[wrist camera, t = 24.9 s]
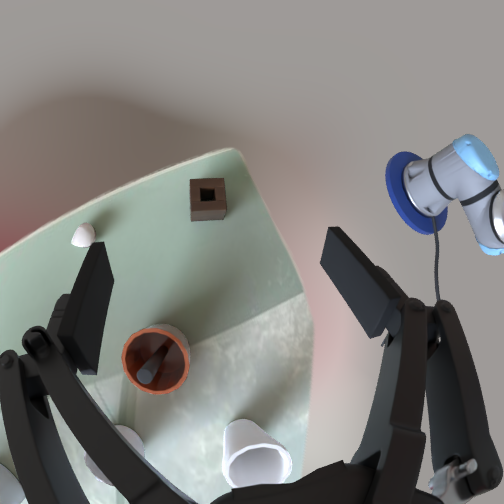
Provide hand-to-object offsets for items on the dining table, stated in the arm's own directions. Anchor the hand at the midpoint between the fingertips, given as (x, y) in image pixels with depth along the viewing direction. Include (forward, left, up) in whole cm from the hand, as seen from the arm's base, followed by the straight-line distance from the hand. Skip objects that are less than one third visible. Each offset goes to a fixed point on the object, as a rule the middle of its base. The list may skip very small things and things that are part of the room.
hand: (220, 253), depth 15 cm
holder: (+13, -7, -30) cm, 33 cm away
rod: (-5, +11, -29) cm, 32 cm away
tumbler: (-5, +11, -30) cm, 32 cm away
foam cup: (-25, +8, -30) cm, 40 cm away
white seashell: (+18, +15, -30) cm, 38 cm away
